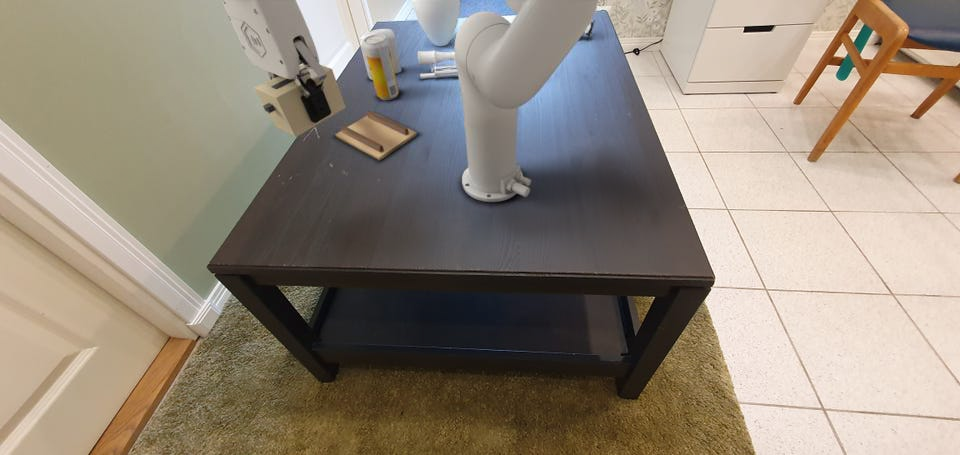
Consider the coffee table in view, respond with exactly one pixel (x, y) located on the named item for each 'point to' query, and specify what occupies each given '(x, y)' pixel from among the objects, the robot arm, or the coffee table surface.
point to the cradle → (376, 135)
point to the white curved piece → (392, 45)
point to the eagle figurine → (589, 29)
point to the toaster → (296, 102)
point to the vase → (438, 18)
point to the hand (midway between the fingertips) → (309, 111)
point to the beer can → (381, 66)
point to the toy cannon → (437, 57)
